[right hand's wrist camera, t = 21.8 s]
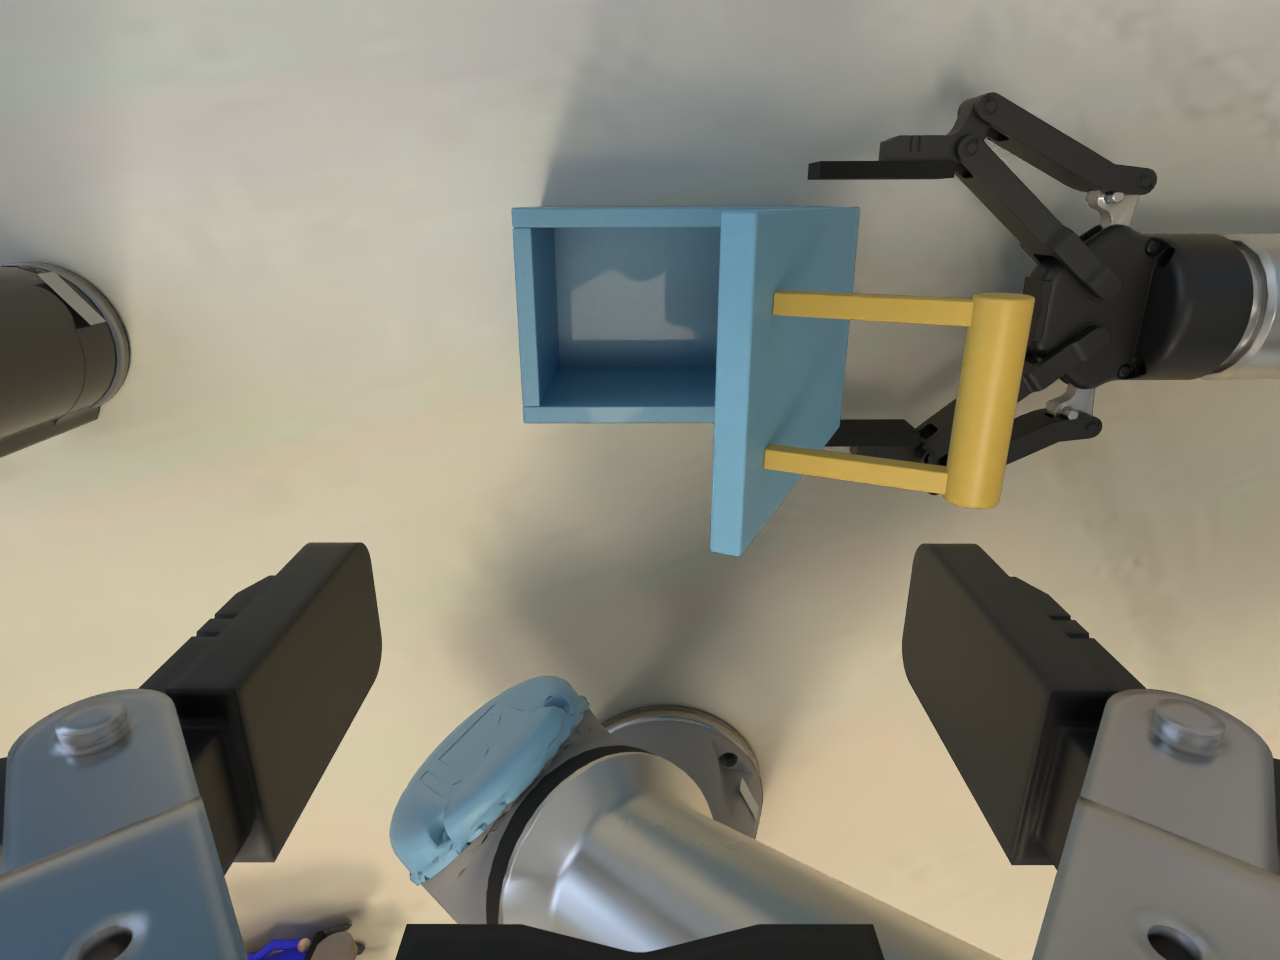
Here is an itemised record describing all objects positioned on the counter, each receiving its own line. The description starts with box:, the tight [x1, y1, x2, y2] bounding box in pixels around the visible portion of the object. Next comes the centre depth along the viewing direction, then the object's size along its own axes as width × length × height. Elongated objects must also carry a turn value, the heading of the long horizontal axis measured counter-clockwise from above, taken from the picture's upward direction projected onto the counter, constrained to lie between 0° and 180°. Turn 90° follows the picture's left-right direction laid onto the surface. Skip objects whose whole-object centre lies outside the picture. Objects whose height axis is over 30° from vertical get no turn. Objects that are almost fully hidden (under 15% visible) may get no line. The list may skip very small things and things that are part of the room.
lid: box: [710, 207, 1035, 556], centre depth 28 cm, size 16×10×8 cm
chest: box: [512, 206, 825, 423], centre depth 41 cm, size 16×10×11 cm
